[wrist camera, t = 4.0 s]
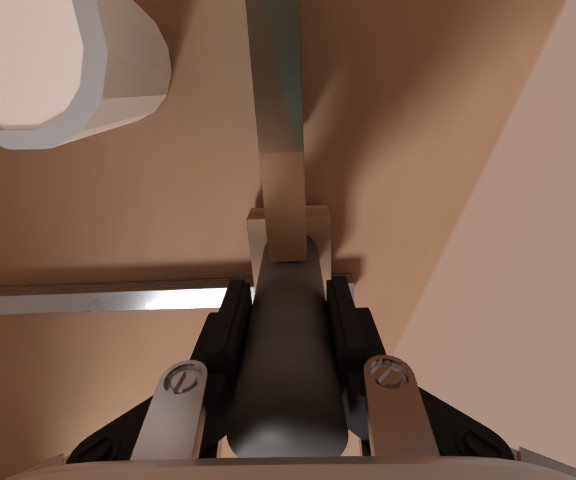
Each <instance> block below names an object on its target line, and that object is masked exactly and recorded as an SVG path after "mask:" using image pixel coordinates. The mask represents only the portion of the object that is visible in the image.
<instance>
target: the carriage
mask: <svg viewBox="0 0 576 480" xmlns="http://www.w3.org/2000/svg"><path fill="white" fill-rule="evenodd" d="M245 1H246V12H247V23H248V34H249V46H250V57H251V68H252V79H253V90H254V102H255V113H256V124H257V135H258V146H259V158H260V169H261V180H262V191H263V202H264V207H263V208H251V210H250V212H249V215H248V217H247V229H248V238H249V246H250V255H251V264H252V272H253V281H254V290H255V295H254V300H253V305H252V310H251V315H250V320H249V325H248V329H247V334H246V339H245V344H244V349H243V354H242V359H241V363H240V368H239V373H238V378H237V383H236V388H235V393H234V397H233V402H232V407H231V412H230V417H229V422H228V426H227V440H228V443H229V446H230V447H231V449H232V451H233V452H234V453H235V454H236V455H237V456H238V457H239V458H261V457H333V456H340V455H341V454H342V453H343V451H344V449H345V448H346V445H347V442H348V428H347V422H346V416H345V410H344V404H343V398H342V392H341V386H340V381H339V376H338V370H337V364H336V358H335V352H334V346H333V340H332V334H331V328H330V322H329V316H328V310H327V304H326V297H325V291H324V289H326V281H327V280H331V214H330V211H329V208H328V205H306V204H305V173H304V142H303V111H302V80H301V48H300V17H299V0H245Z"/></svg>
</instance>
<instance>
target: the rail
mask: <svg viewBox="0 0 576 480" xmlns="http://www.w3.org/2000/svg"><path fill="white" fill-rule="evenodd" d="M332 276H346V278H347V282H348V285H349V288H350V292H351V295H352V298H353V301H354V281H353V278H352V275H351V273H348V274H331V277H332ZM239 279H244V280H245V283H250V288H251V296H252V305H253V300H254V295H255V290H254V281H253V277H244V278H218V279H192V280H166V281H140V282H114V283H88V284H62V285H36V286H10V287H0V315H7V314H35V313H64V312H92V311H121V310H150V309H178V308H207V307H220V306H221V304H222V301H223V298H224V295H225V293H226V290H227V287H228V284H229V282H230V280H239ZM324 291H325V297H326V289H324Z"/></svg>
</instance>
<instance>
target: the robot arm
mask: <svg viewBox="0 0 576 480" xmlns="http://www.w3.org/2000/svg"><path fill="white" fill-rule="evenodd" d="M326 304H327V310H328V316H329V322H330V328H331V334H332V340H333V346H334V352H335V358H336V364H337V370H338V376H339V381H340V386H341V392H342V398H343V404H344V410H345V416H346V422H347V428H348V430H350V431H352V432H353V433H354V434H355V435H356V436H358V437H359V445H360V456H333V457H261V458H221V449H222V438H223V437H224V436H225V435H227V426H228V422H229V417H230V412H231V407H232V402H233V397H234V393H235V388H236V383H237V378H238V373H239V368H240V363H241V359H242V354H243V349H244V344H245V339H246V334H247V329H248V325H249V320H250V315H251V310H252V296H251V288H250V283H245V280H244V279H239V280H230V282H229V284H228V287H227V290H226V293H225V295H224V298H223V301H222V304H221V306H220V309H219V312H214V313H209V315H208V316H207V319H206V321H205V324H204V326H203V329H202V331H201V334H200V336H199V338H198V341H197V343H196V346H195V348H194V351H193V353H192V356H191V358H190V360H186V361H181V362H179V363H177V364H174V365H173V366H171V367H170V368H168V369H167V370H166V371H165V372H164V373H163V374H162V376H161V378H160V380H159V382H158V385H157V387H156V390H155V393H154V395H153V396H152V397H150V398H148V399H147V400H145V401H144V402H142V403H141V404H139V405H137V406H136V407H134V408H133V409H131V410H130V411H128V412H126V413H125V414H123V415H122V416H120V417H118V418H117V419H115V420H114V421H112V422H111V423H109V424H107V425H106V426H104V427H103V428H101V429H100V430H98V431H96V432H95V433H93V434H92V435H90V436H89V437H87V438H86V439H85V440H83V441H82V442H81V443H80V444H79V445H78V446H77V447H76V448H75V449H74V450H73V451H72V453H71V455H70V456H67V457H65V456H64V454H61V455H58V456H56V457H54V458H51V459H49V460H47V461H45V462H42V463H40V464H38V465H35V466H33V467H31V468H28V469H26V470H24V471H21V472H19V473H17V474H14V475H12V476H10V477H7V478H5V479H3V480H576V468H574V467H571V466H569V465H566V464H564V463H561V462H558V461H556V460H553V459H551V458H548V457H546V456H543V455H540V454H538V453H535V452H533V451H530V450H527V449H525V448H522V447H519V449H518V451H517V450H515V449H512V448H510V447H509V446H508V445H507V443H506V442H505V441H504V440H503V439H502V438H501V437H500V436H499V435H498V434H496V433H495V432H493V431H492V430H491V429H489V428H487V427H486V426H484V425H482V424H481V423H479V422H477V421H476V420H474V419H472V418H471V417H469V416H467V415H465V414H464V413H462V412H460V411H459V410H457V409H455V408H453V407H452V406H450V405H449V404H447V403H445V402H443V401H442V400H440V399H438V398H437V397H435V396H433V395H431V394H430V393H428V392H426V391H425V390H423V389H422V388H420V387H418V385H417V382H416V378H415V376H414V373H413V371H412V369H411V368H410V367H409V366H408V365H407V364H406V363H405V362H404V361H402V360H400V359H399V358H396V357H393V356H389V355H386V352H385V349H384V347H383V344H382V341H381V339H380V336H379V333H378V331H377V328H376V325H375V323H374V320H373V317H372V315H371V312H370V310H369V308H355V305H354V301H353V298H352V295H351V292H350V288H349V285H348V282H347V278H346V276H332V277H331V280H327V281H326Z"/></svg>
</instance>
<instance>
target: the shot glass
mask: <svg viewBox="0 0 576 480" xmlns="http://www.w3.org/2000/svg"><path fill="white" fill-rule="evenodd" d="M171 74H172V70H171V63H170V57H169V50H168V46H167V44H166V42H165V40H164V38H163V36H162V34H161V32H160V30H159V28H158V26H157V24H156V22H155V21H154V20H153V19H152V18H151V17H150V16H149V15H148V14H147V13H146V12H145V11H144V10H143V9H142V8H141V7H140V6H139V5H138V4H137V3H136V2H135V1H134V0H0V146H1V147H4V148H7V149H9V150H21V149H50V148H54V147H57V146H60V145H63V144H66V143H69V142H72V141H76V140H79V139H82V138H85V137H88V136H91V135H95V134H98V133H101V132H104V131H107V130H110V129H113V128H117V127H120V126H123V125H126V124H129V123H132V122H136V121H138V120H140V119H142V118H144V117H146V116H148V115H150V114H152V113H154V112H155V111H156V110H157V109H158V107H159V106H160V104H161V103H162V102H163V100H164V99H165V97H166V96H167V94H168V89H169V84H170V79H171Z"/></svg>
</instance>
